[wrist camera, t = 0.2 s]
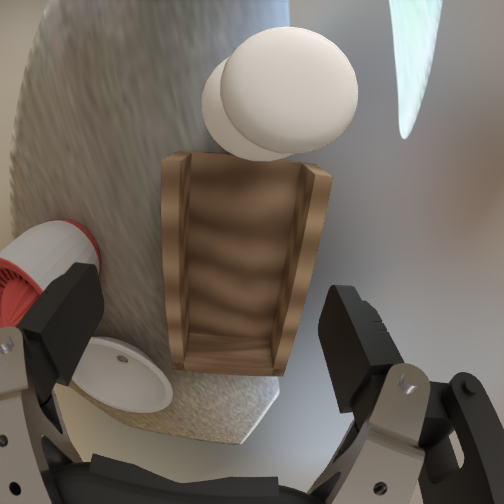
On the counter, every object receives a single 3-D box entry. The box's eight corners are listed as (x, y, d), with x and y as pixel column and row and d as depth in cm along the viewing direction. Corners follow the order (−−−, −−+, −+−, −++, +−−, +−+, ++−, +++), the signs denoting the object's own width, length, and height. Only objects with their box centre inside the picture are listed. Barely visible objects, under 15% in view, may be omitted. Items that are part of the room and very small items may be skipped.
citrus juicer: (79, 307, 45) (32, 387, 28) (26, 233, 38) (-44, 296, 20) (136, 279, 43) (89, 375, 25) (77, 188, 35) (-13, 249, 17)
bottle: (281, 77, 30) (417, -27, 3) (287, 138, 34) (436, 228, 7) (216, 84, 30) (117, -23, 4) (224, 144, 34) (159, 260, 7)
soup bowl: (197, 352, 51) (193, 378, 45) (156, 402, 59) (151, 423, 53) (83, 293, 44) (67, 316, 38) (68, 359, 53) (58, 379, 47)
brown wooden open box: (177, 151, 34) (161, 160, 27) (315, 164, 35) (332, 177, 29) (179, 336, 48) (172, 369, 42) (278, 343, 50) (283, 376, 43)
